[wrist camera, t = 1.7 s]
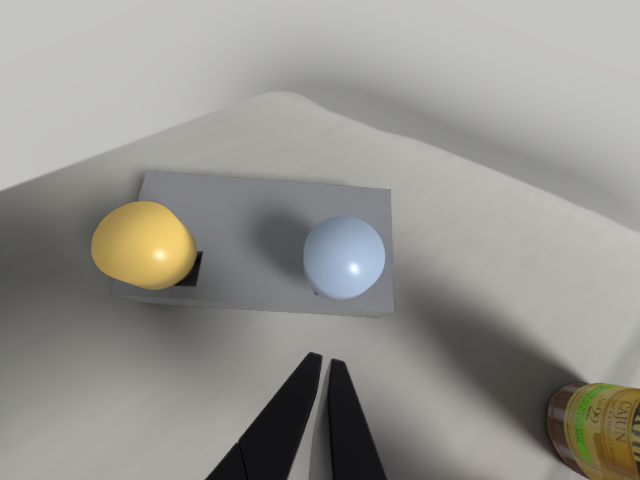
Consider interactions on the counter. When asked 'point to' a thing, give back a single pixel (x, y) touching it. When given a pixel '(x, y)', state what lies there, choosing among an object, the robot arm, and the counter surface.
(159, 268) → the amber button
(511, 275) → the counter surface
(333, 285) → the blue button
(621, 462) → the sauce bottle
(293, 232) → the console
